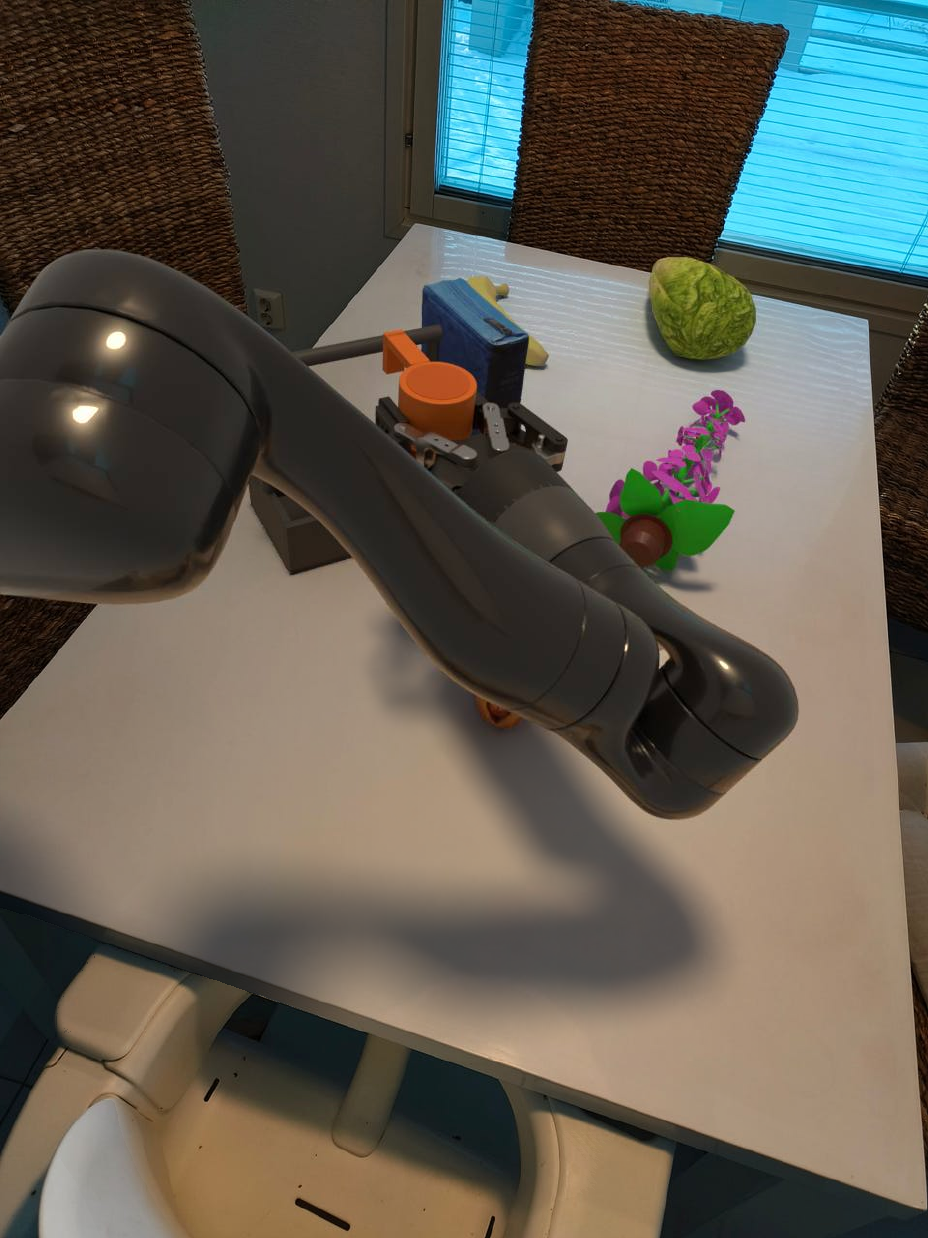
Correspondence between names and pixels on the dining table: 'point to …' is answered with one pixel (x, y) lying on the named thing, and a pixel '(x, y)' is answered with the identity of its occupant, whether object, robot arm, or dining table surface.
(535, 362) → the banana
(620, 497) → the potted plant
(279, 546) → the basket
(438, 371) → the measuring cup
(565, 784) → the dining table surface
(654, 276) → the lettuce
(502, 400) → the book
